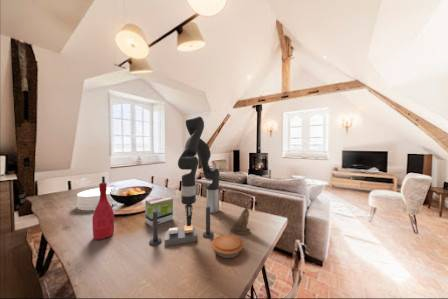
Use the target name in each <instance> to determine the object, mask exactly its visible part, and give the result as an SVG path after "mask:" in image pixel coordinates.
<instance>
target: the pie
mask: <svg viewBox="0 0 448 299" xmlns="http://www.w3.org/2000/svg"><path fill="white" fill-rule="evenodd" d="M211 246H212V249H213V250H214V251H215V253H216V254H217V255H218V256H219V257H220V258H225V259H232V258H235V257H237V256H238V255H239V254H240V252H241V251H242V250H243V249H244V241H243V240H242V239H241V238H240V237H238V236H236V235H234V234H222V235H218V236H216V237H214V239H213V240H212V242H211Z"/></svg>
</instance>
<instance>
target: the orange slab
mask: <svg viewBox="0 0 448 299" xmlns="http://www.w3.org/2000/svg"><path fill="white" fill-rule="evenodd" d="M193 228H194V227H193V224H191V226H187V224H186V225H183V229H184V233H190V232H193Z"/></svg>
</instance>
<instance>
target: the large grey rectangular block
mask: <svg viewBox="0 0 448 299" xmlns="http://www.w3.org/2000/svg"><path fill="white" fill-rule="evenodd" d="M192 228H193V232H190V233H184V228H181V229H179V228H178V230H177V233H174V234H168V232H169V230H167V231H165V236H164V246H171V245H172V246H173V245H179V244H186V243H192V242H197V232H196V227H192Z"/></svg>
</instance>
